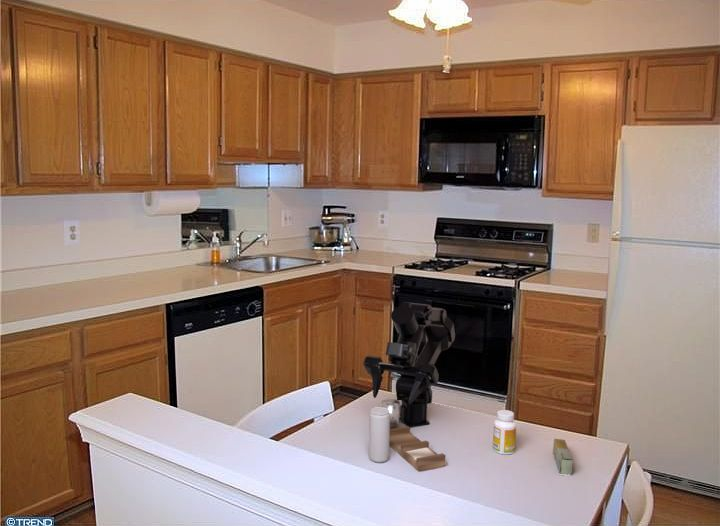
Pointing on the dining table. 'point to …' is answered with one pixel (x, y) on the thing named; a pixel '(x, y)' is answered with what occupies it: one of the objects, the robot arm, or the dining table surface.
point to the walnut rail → (415, 450)
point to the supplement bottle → (504, 433)
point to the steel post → (392, 411)
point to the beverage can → (379, 434)
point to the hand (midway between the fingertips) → (391, 400)
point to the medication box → (562, 457)
